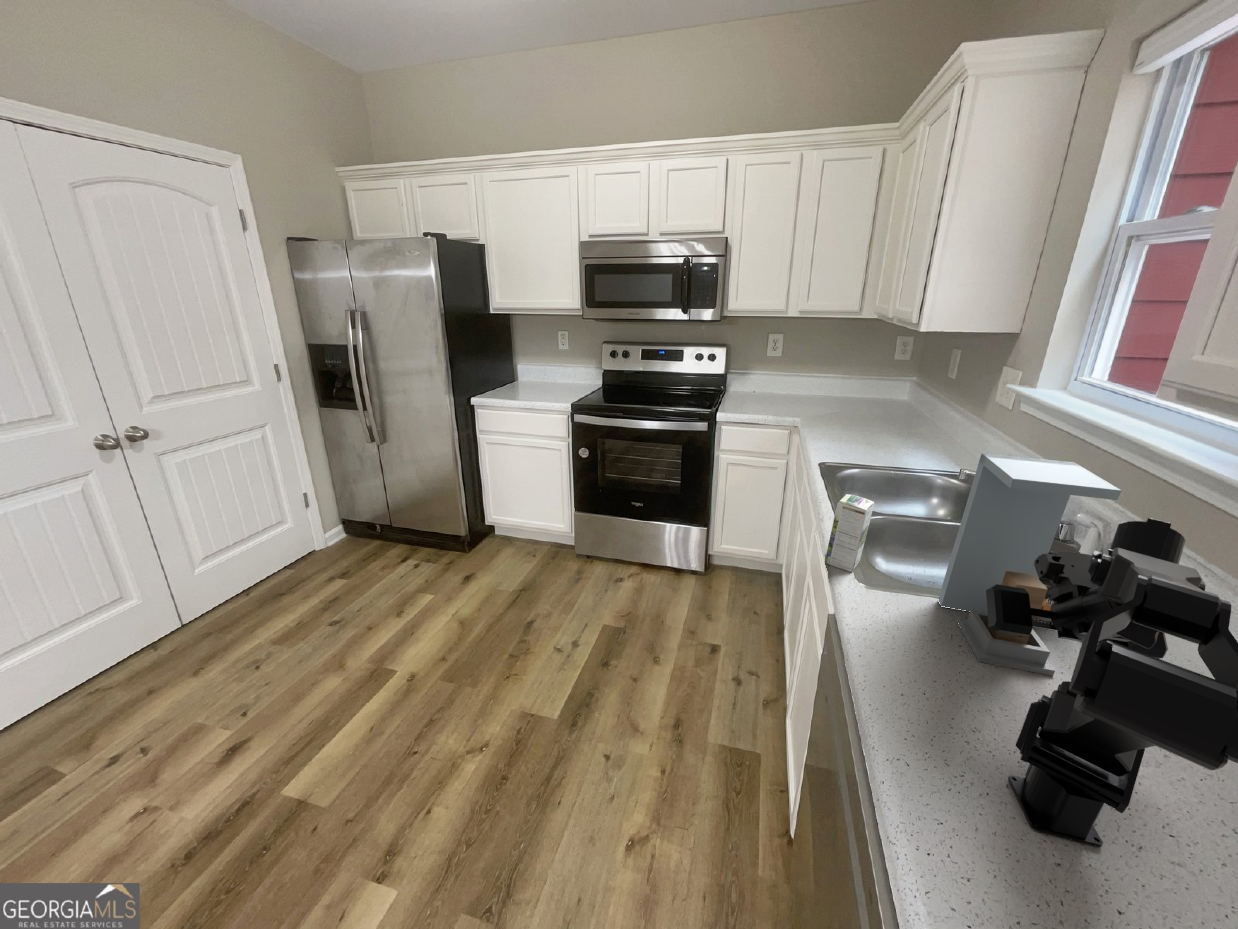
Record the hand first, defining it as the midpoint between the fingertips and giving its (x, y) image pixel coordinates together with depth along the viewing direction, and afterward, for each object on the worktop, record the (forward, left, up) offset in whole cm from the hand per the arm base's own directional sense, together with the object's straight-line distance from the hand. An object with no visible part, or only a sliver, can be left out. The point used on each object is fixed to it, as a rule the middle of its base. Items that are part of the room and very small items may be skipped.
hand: (1035, 629), depth 74 cm
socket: (+6, 0, -8) cm, 10 cm away
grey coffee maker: (+11, 0, -8) cm, 14 cm away
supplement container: (+22, -10, -9) cm, 26 cm away
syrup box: (+26, +22, -9) cm, 35 cm away
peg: (+6, 0, -7) cm, 10 cm away
